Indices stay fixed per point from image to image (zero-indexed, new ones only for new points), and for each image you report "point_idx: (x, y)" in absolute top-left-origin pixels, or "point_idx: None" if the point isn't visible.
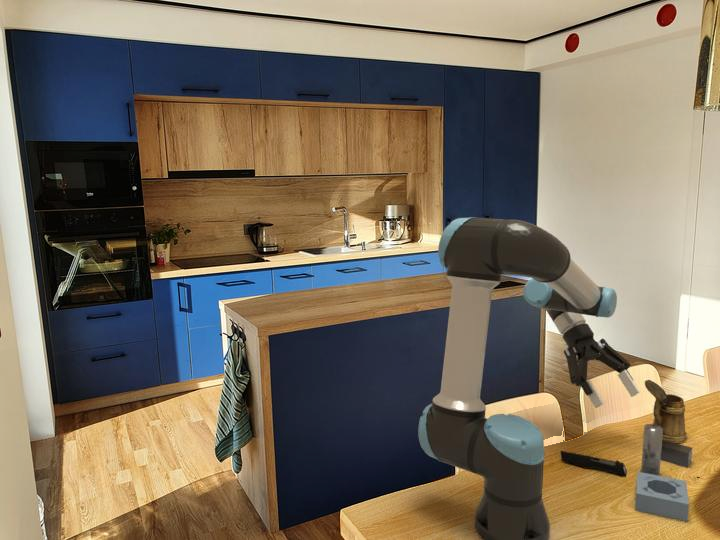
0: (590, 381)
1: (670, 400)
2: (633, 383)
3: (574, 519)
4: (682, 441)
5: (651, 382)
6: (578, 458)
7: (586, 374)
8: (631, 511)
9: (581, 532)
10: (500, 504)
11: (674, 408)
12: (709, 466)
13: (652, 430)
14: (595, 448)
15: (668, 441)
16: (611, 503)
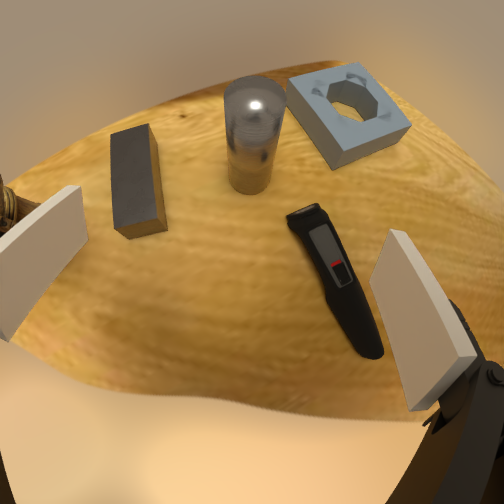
0: (457, 343)
1: None
2: (40, 212)
3: (483, 200)
4: None
5: None
6: (368, 308)
7: (473, 412)
8: (404, 145)
9: (489, 178)
10: None
11: (3, 193)
12: (120, 125)
13: (280, 91)
14: (236, 339)
15: (111, 182)
16: (416, 178)
